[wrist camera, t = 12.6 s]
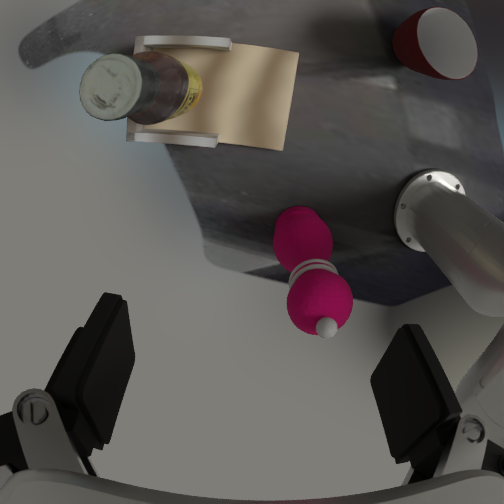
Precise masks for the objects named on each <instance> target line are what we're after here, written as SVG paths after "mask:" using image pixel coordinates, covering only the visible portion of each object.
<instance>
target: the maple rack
mask: <svg viewBox="0 0 504 504" xmlns="http://www.w3.org/2000/svg"><path fill="white" fill-rule="evenodd" d="M144 51H145V52H146V51H156V52H160V53H164V54H166V55H170V56H172V57H174V58H176V59H178V60H180V61H182V62H184V63H185V64H187V65H189V66H191V67H192V68H194V69H195V70H196V71H197V73H198V74H199V76H200V78H201V81H202V94H201V98H200V100H199V101H198V103H197V105H196V106H195V107H194V108H193V109H192V110H190V111H189V112H187V113H185V114H183V115H180V116H177V117H175V118H172V119H169V120H166V121H163V122H160V123H157V124H153V125H141V124H138V123H135V122H134V121H132V120H131V119H129V118H127V139H126V141H133V142H134V141H135V142H153V143H168V144H181V145H193V146H203V147H213V148H215V147H216V145H217V144H218V142H220V143H229V144H238V145H245V146H253V147H260V148H267V149H274V150H280V151H283V146H284V140H285V134H286V128H287V122H288V117H289V111H290V105H291V99H292V93H293V87H294V81H295V75H296V69H297V63H298V57H299V53H297V52H292V51H286V50H280V49H274V48H267V47H260V46H253V45H244V44H235V43H232V42H231V40H230V38H220V37H204V36H137V37H136V40H135V47H134V54H136V53H139V52H144ZM134 54H133V55H134Z"/></svg>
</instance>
